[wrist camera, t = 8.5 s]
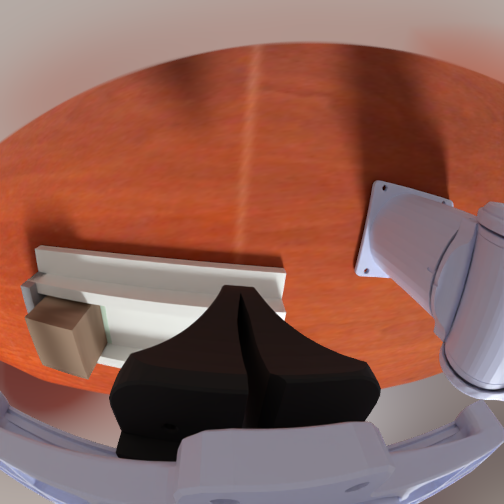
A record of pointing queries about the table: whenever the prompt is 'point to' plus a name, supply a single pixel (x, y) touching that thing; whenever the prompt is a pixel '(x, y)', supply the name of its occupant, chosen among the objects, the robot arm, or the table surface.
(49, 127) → the table surface
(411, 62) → the table surface
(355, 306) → the table surface
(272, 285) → the chute
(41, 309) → the block
